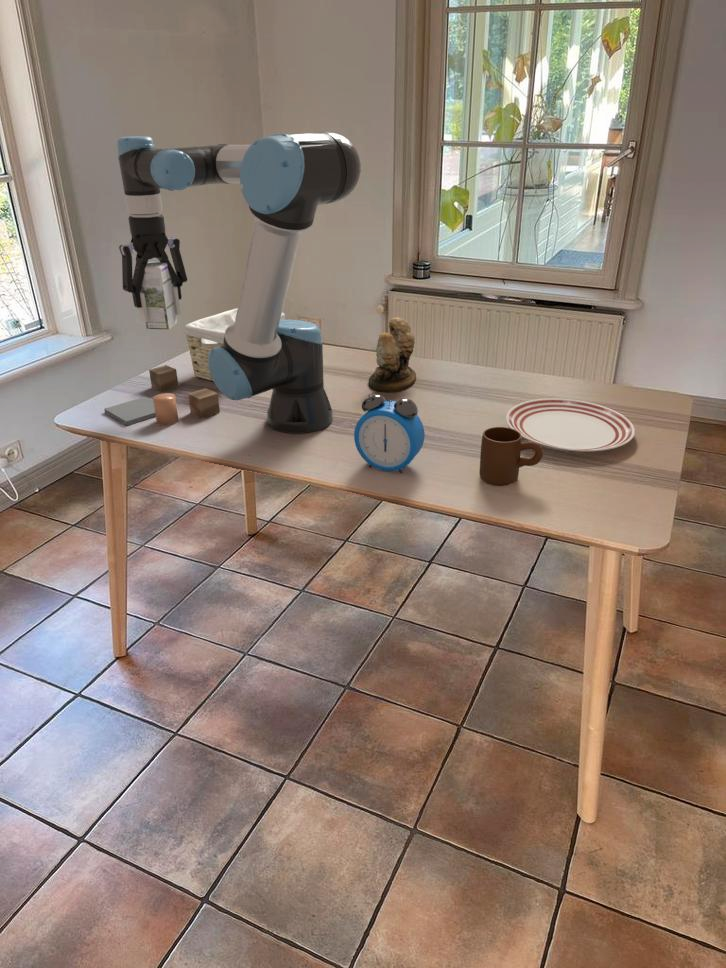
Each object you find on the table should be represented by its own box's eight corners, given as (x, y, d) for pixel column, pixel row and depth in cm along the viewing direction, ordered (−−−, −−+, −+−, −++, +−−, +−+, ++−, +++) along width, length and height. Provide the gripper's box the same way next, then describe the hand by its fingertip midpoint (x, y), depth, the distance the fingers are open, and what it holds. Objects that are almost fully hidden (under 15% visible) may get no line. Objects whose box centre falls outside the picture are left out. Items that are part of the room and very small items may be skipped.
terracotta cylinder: (182, 421, 170) (179, 397, 167) (163, 427, 167) (159, 403, 164) (171, 415, 173) (168, 391, 170) (152, 421, 170) (148, 397, 167)
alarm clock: (353, 466, 148) (352, 398, 141) (365, 454, 153) (364, 387, 146) (414, 478, 143) (416, 407, 136) (424, 464, 148) (426, 396, 141)
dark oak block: (178, 387, 189) (176, 369, 187) (161, 392, 186) (158, 374, 184) (168, 383, 192) (166, 365, 190) (151, 388, 189) (148, 369, 187)
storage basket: (248, 354, 213) (243, 304, 206) (291, 363, 205) (287, 311, 198) (188, 378, 195) (180, 324, 188) (232, 390, 187) (226, 334, 180)
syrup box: (178, 323, 173) (169, 260, 166) (169, 330, 168) (160, 266, 161) (155, 322, 174) (145, 260, 167) (145, 329, 169) (135, 266, 162)
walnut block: (220, 413, 174) (217, 393, 172) (202, 419, 171) (199, 399, 169) (208, 407, 177) (205, 388, 175) (190, 413, 174) (187, 393, 172)
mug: (545, 479, 142) (550, 435, 137) (533, 496, 136) (538, 450, 132) (487, 466, 147) (490, 423, 143) (473, 481, 141) (475, 437, 137)
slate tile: (169, 412, 175) (168, 408, 174) (127, 425, 168) (126, 421, 167) (146, 400, 182) (145, 396, 181) (105, 412, 175) (104, 408, 174)
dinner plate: (645, 424, 165) (647, 411, 163) (615, 473, 144) (618, 458, 143) (528, 402, 177) (530, 389, 176) (485, 444, 157) (487, 430, 155)
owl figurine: (381, 367, 201) (381, 306, 192) (422, 372, 197) (425, 309, 189) (361, 390, 185) (360, 324, 177) (405, 395, 182) (407, 328, 174)
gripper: (178, 207, 167) (191, 306, 178) (93, 217, 155) (112, 322, 166) (195, 211, 163) (207, 312, 174) (108, 221, 151) (127, 329, 162)
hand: (160, 317), depth 170 cm, fingers closed on syrup box, 8 cm apart
